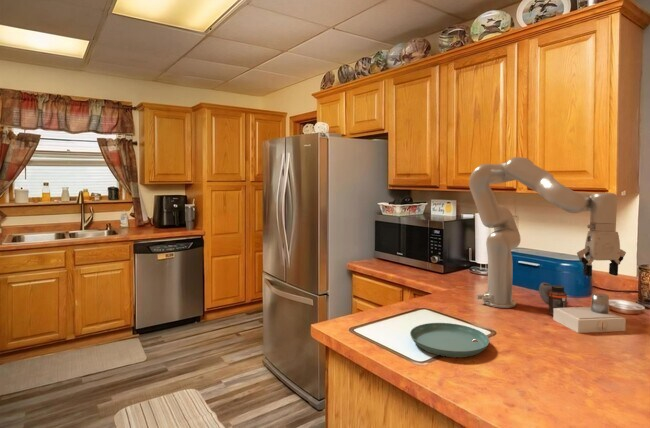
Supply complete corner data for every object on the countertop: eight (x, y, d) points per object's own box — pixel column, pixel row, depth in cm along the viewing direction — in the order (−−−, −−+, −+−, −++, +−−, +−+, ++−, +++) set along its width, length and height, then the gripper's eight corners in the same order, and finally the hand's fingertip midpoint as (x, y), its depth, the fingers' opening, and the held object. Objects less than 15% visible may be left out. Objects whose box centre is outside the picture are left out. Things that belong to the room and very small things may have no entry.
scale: (578, 333, 132) (579, 319, 131) (553, 319, 145) (553, 307, 144) (626, 331, 133) (626, 317, 132) (596, 317, 146) (597, 305, 145)
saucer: (501, 344, 125) (501, 334, 124) (468, 370, 108) (468, 359, 107) (433, 325, 142) (433, 316, 141) (395, 346, 125) (395, 336, 124)
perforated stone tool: (557, 307, 159) (558, 291, 158) (543, 306, 161) (543, 289, 160) (551, 297, 173) (551, 282, 172) (537, 296, 175) (538, 281, 174)
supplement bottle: (568, 317, 147) (569, 288, 146) (551, 316, 148) (552, 287, 147) (562, 312, 152) (563, 284, 152) (546, 311, 154) (546, 283, 153)
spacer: (598, 314, 136) (598, 297, 136) (588, 309, 141) (588, 293, 141) (612, 313, 136) (612, 296, 136) (601, 308, 141) (601, 292, 141)
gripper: (587, 229, 132) (584, 278, 134) (634, 228, 133) (632, 277, 135) (571, 226, 140) (569, 273, 141) (617, 226, 141) (614, 272, 142)
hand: (600, 275), depth 138 cm, fingers open, 9 cm apart
